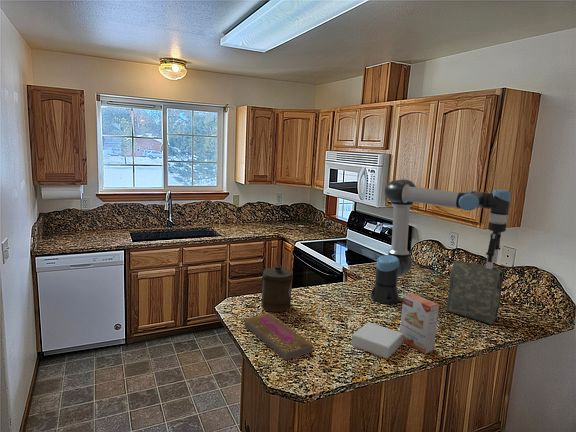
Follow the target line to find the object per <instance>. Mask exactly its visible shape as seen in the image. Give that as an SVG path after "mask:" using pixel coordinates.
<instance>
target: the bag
mask: <svg viewBox="0 0 576 432" xmlns="http://www.w3.org/2000/svg"><path fill="white" fill-rule="evenodd" d="M503 276H504V272H503V270H502V269H499V268H497V266H492V269H488V268H486V264H485V265H484V264H480V263H478V262H468V261H465V260H464V261H459V260H457V259H456V260H454V261H453V264H452V267H451V272H450V278H449V285H448V286H449V287H448V298H447V303H446V304H447V305H446V310H445V311H446V312H450V313H453V314H457V315H459V316H463V317H467V318H469V319H473V320H477V321H480V322H484V323H487V324H488V325H492V324H493V323H494V321H495V320H496V319H497V318H498V315H499V308H500V304H501V297H502V290H503V289H502V287H503Z"/></svg>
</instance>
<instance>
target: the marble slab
mask: <svg viewBox="0 0 576 432" xmlns="http://www.w3.org/2000/svg"><path fill="white" fill-rule="evenodd" d="M403 343H404V342H403V333H400V331H397V330H393V329H390V328H388V327H385V326H381V325H379V324H375V323H373V322H367V323H366V324H365V325H363V326H362V327H360V328H359V329H357V330H356V331H355V332H353V334H351V343H350V344H351V345H350V346H353V347H354V348H355V347H356V348H357V349H361V350H363V351H366V352H368V353H370V354H373V355H377V356H379V357H381V358H384V359H389V358H390V357H391V356H392V355H393V354H394V353H395V352H396V351H397V350H398V349H399V348H400V347H401V345H403Z"/></svg>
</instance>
